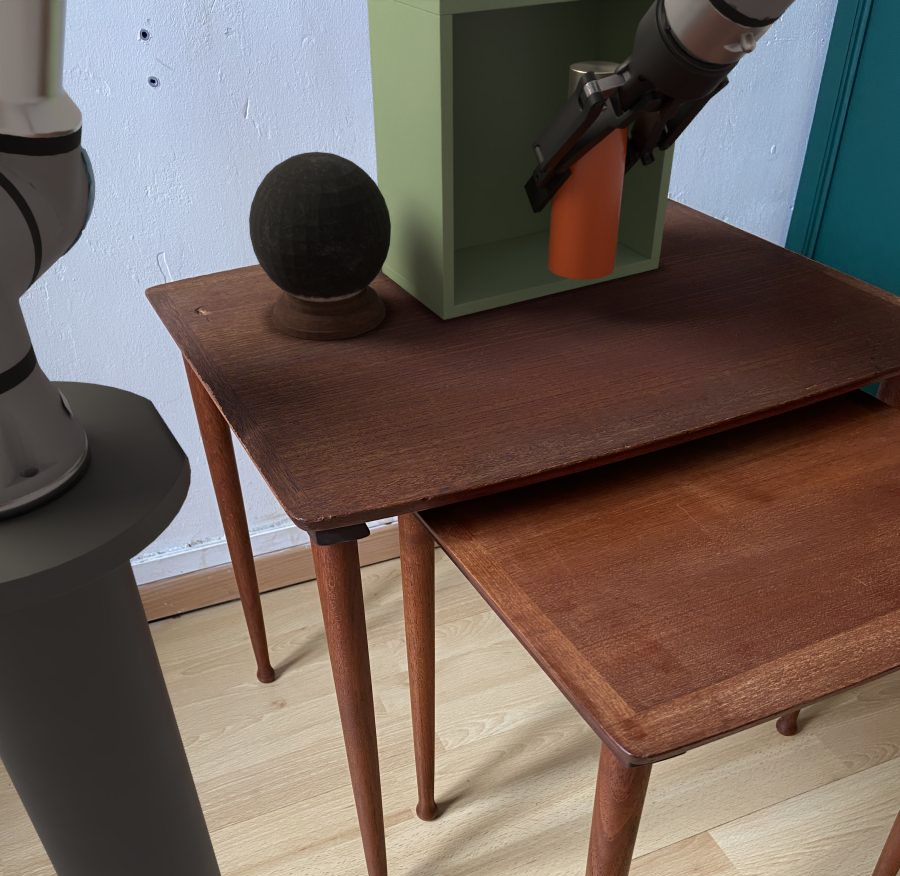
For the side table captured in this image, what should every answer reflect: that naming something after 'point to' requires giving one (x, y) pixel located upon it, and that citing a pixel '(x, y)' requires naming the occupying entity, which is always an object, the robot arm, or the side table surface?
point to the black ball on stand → (321, 245)
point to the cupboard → (491, 143)
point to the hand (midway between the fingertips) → (564, 192)
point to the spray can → (589, 200)
